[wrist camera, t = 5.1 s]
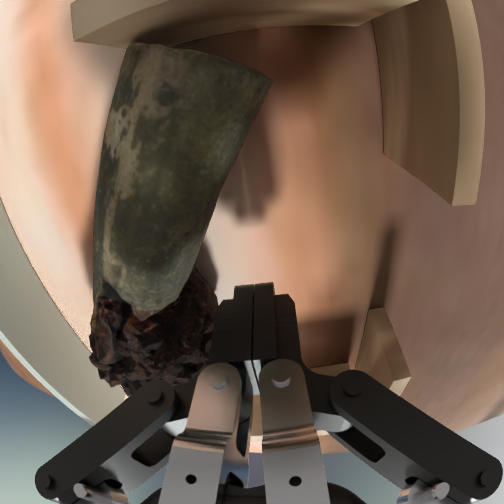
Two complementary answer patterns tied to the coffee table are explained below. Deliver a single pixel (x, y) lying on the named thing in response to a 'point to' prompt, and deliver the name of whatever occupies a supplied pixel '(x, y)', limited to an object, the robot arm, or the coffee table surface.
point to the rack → (47, 336)
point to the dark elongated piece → (163, 209)
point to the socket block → (393, 99)
